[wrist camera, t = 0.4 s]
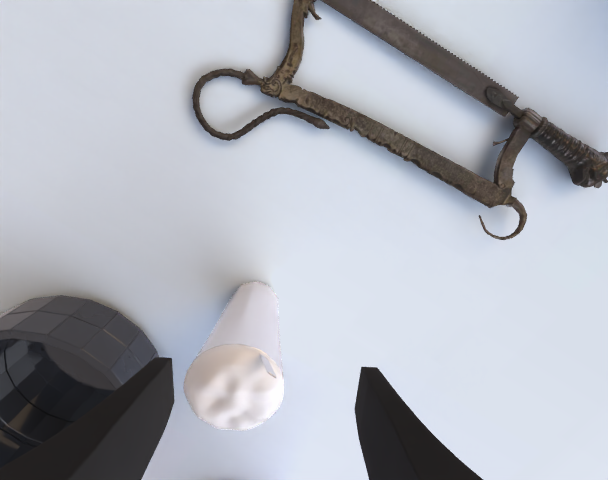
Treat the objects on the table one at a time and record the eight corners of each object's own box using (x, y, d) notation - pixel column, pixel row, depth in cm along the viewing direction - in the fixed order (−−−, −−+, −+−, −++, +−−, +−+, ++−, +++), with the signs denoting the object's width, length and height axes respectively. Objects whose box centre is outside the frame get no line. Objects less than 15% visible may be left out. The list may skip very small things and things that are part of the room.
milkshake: (308, 288, 22) (318, 404, 13) (261, 340, 23) (238, 480, 14) (255, 250, 21) (223, 344, 12) (209, 306, 22) (147, 431, 13)
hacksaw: (609, 161, 20) (633, 163, 19) (504, 292, 23) (517, 303, 21) (261, -76, 16) (258, -97, 14) (183, 119, 19) (174, 118, 17)
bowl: (160, 437, 26) (134, 496, 22) (2, 418, 25) (-58, 476, 21) (171, 307, 22) (141, 348, 18) (-15, 278, 21) (-92, 315, 17)
